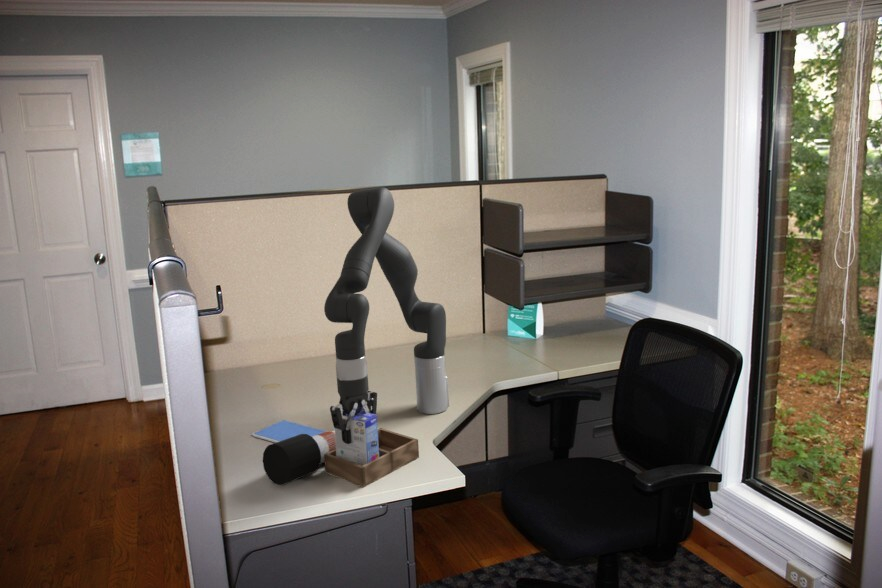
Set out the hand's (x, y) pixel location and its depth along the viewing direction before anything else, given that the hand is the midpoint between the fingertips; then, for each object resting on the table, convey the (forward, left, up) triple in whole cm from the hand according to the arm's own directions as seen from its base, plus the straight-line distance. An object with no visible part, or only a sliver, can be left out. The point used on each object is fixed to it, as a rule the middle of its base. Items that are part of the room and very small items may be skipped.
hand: (356, 438), depth 180 cm
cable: (0, -12, -9) cm, 15 cm away
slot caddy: (-5, 0, -9) cm, 10 cm away
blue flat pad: (-5, -34, -10) cm, 35 cm away
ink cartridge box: (0, 0, -6) cm, 6 cm away
